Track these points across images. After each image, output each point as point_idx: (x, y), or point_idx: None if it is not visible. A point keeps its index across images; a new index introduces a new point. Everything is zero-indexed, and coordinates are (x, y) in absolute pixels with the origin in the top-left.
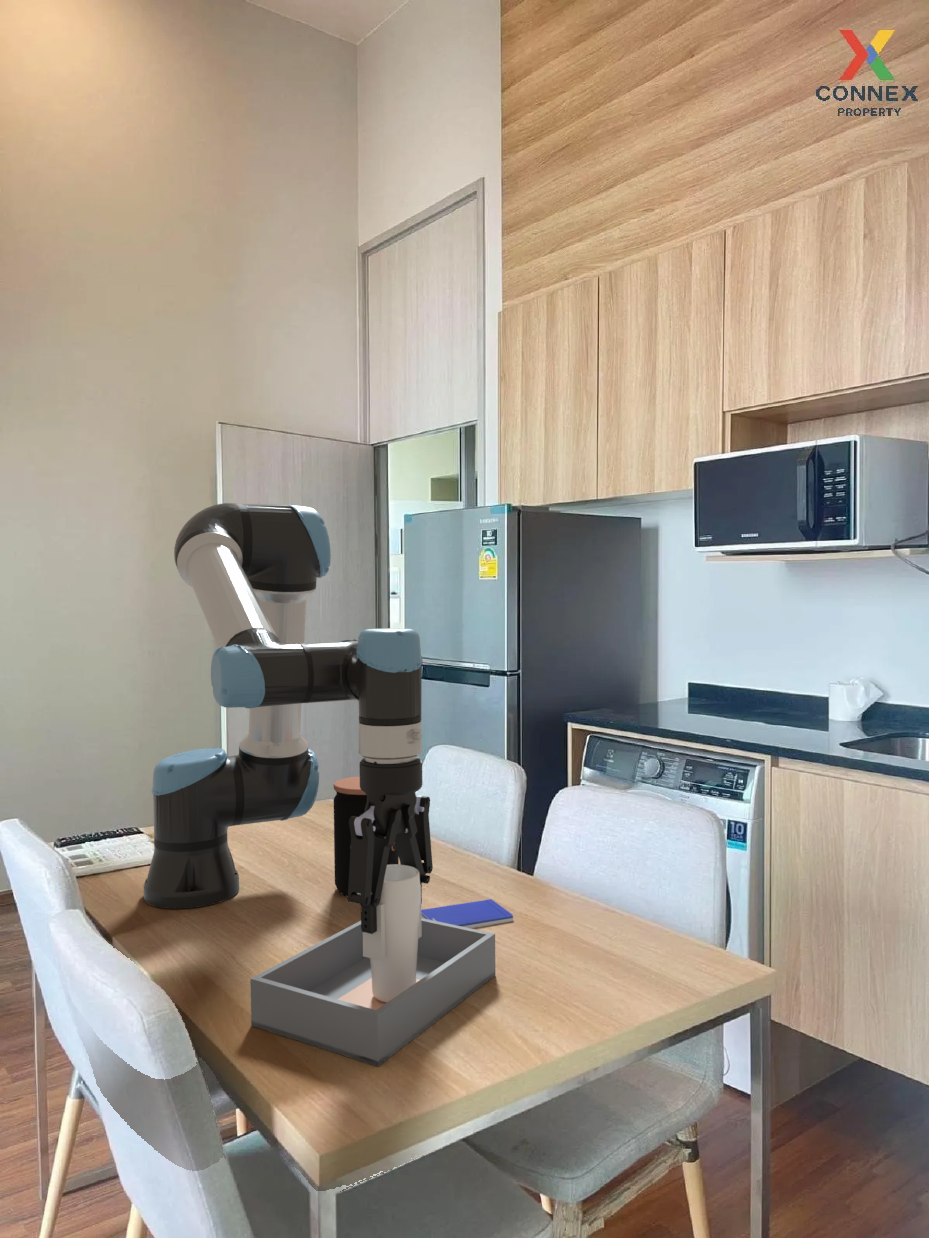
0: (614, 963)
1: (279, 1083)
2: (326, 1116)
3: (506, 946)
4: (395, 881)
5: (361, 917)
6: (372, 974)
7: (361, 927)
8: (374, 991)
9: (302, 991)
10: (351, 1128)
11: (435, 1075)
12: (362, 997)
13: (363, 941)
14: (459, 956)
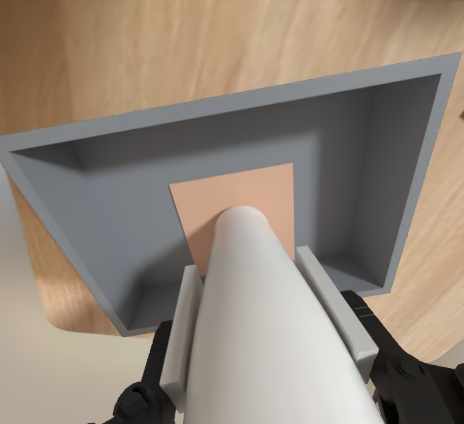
0: (418, 305)
1: (49, 256)
2: (69, 308)
3: (438, 217)
4: None
5: (149, 357)
6: (214, 235)
7: (155, 333)
8: (214, 227)
9: (66, 247)
10: (80, 325)
11: None
12: (212, 202)
13: (181, 287)
14: None
